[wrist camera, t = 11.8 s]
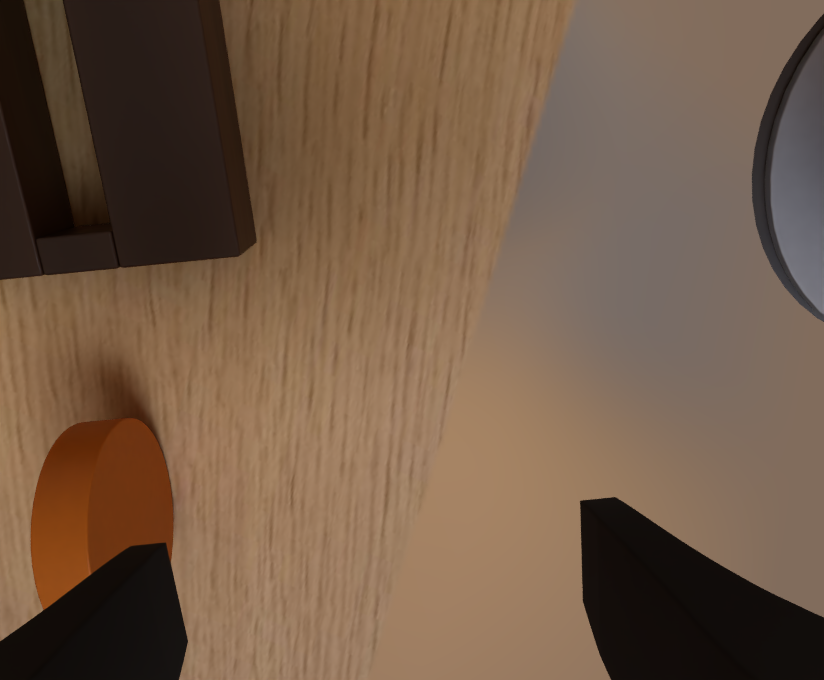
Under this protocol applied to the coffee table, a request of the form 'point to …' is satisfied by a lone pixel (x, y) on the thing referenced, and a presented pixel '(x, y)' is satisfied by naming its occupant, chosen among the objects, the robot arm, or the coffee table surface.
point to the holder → (125, 141)
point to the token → (97, 502)
